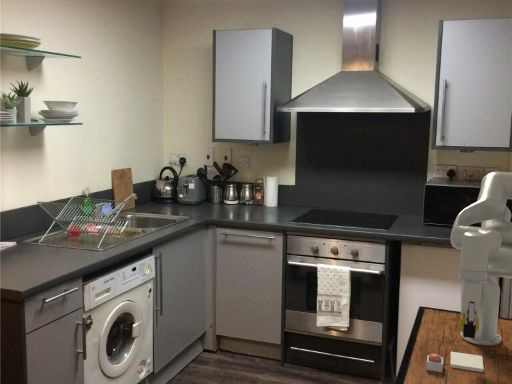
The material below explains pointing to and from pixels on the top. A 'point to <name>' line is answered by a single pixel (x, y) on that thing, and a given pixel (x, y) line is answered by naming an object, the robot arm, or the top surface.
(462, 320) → the lemon
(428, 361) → the button base
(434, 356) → the button
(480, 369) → the paper pad
